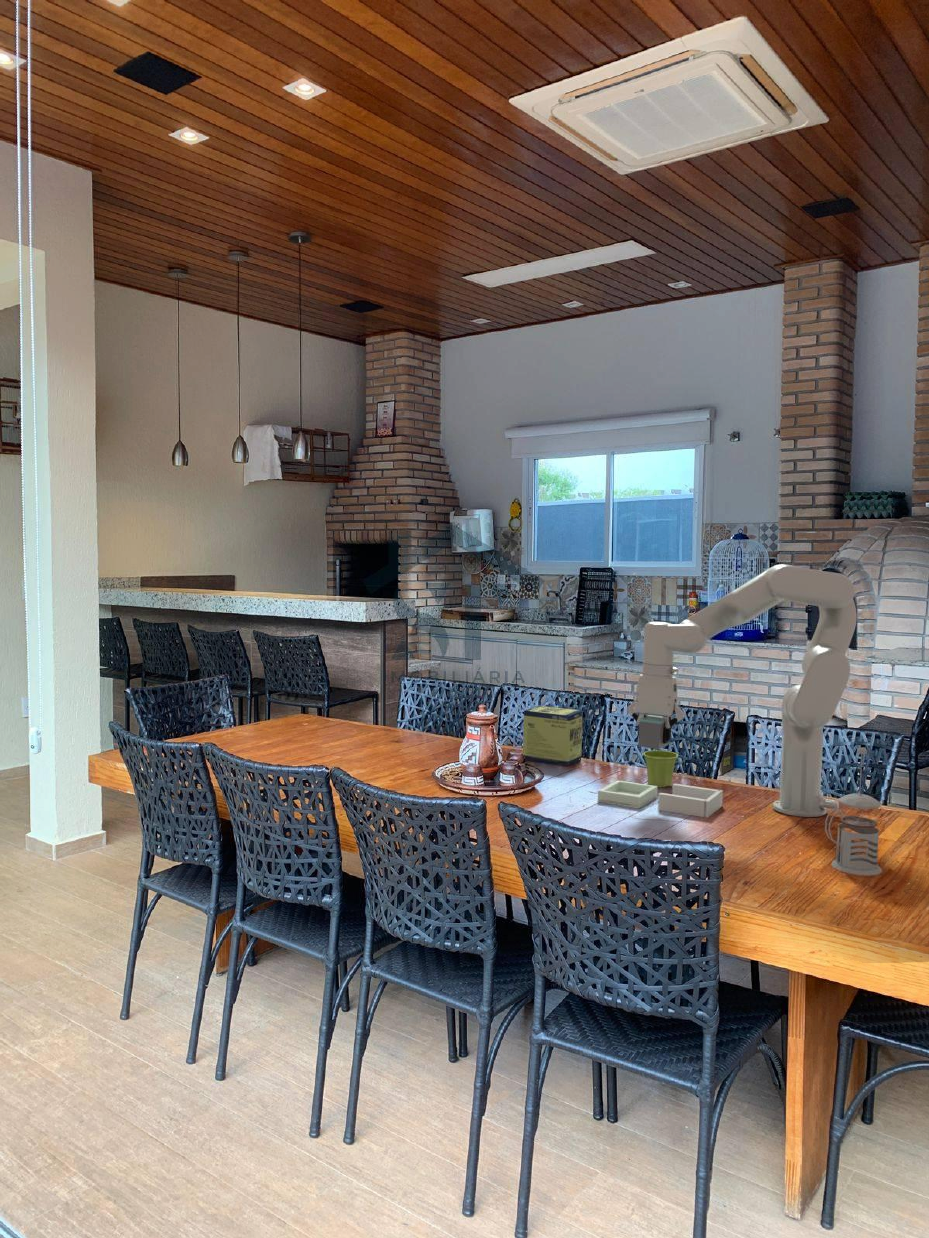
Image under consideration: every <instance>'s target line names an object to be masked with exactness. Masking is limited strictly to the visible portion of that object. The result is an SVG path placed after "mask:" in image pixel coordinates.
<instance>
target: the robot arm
mask: <svg viewBox="0 0 929 1238" xmlns="http://www.w3.org/2000/svg"><path fill="white" fill-rule="evenodd" d="M855 587H856V586H855V585H854V583H853V581H852V579H851V578H849V576H847V575H845V574H843V573H838V572H832V571H823V570H820V569H819V570H818V569H811V568H805V567H800V566H795V565H791V564H784V563H783V564H775V565H774V566H771V567H770V568H768V569H766V570H764V571H763V572H761V573H760V574H758V575H757V576H755V577H753V578H752V579H750V580H748V581H747V582H745V583H743V584H742V585H740V586H739V587H737V588H736V589H734V590H732V591H731V592H729V593H727V594H725V595H724V596H722V597H721V598H719V599H717V600H716V601H715V602H713V603H711V604H709V605H707V606H705V607H704V608H702V609H701V610H699V611H697V612H696V613H694V614H692V615H691V616H689V617H688V618H686V619H684V620H683V621H681V622H680V623H679V624H672V623H671V622H667V621H666V622H664V621H650V622H647V623H645V626H644V629H643V630H644V634H643V653H642V655H643V656H642V671H641V672H642V673H641V674H639V677H638V681H637V685H636V691H635V697H634V698H635V699H634V700H633V701H632V702H631V703H630V704H629V705H628V706H627V708H626V711H627V712H628V713H629V714H630V715H631V717H632V718H633V720H634V721H635V722H636V724H637V737H639V719H640V718H643V717H645V716H648V715H655V716H663V720H664V723H665V728H664V729H663V744H666V743H668V742H669V743H670V740H671V739H672V727H674V726H675V725H676V724H677V723H678V722H679V721H681V720H682V719H684V718H685V716H686V714H685V712H684V711H683V710H682V709H681V707H680V705H679V703H678V698H679V697H678V684H677V683H678V682H677V677H676V676H673V675H674V674H678V673H679V668H678V667H675V665H674V652H678V653H683V654H689V655H690V654H697V653H699V652H701V651H702V650H704V648H705V646H707V645H706V644H707V641H708V640H710V639H711V638H713V637H714V636H717V635H719V633H720V634H721V632H724V631H726V630H728V629H730V628H732V627H738V626H741V625H745V624H746V623H749V622H751V621H752V620H754V619H756V618H757V617H758V616H761V615H762V614H763V613H765V612H767V611H768V610H770V609H771V608H774V607H775V606H777V605H778V604H781V603H782V602H783V601H787V602H788V601H789V602H793V603H798V604H803V605H809V606H816V607H818V610H819V618H818V622H817V625H816V628H815V631H814V633H813V636H812V639H811V640H810V642H809V645H808V648H807V650H806V651H805V654H804V655H803V657H802V658H803V659H802V661H801V670H802V672H803V674H804V677H803V680H802V682H801V684H797V685H796V684H795V685H794V686H792V687H790V688H789V689H787V691H786V692H785V693H784V696H783V698H782V701H781V722H782V723H781V724H782V726H781V727H782V737H781V738H782V740H781V757H780V759H781V761H780V782H779V783H780V784H779V785H780V787H779V788H780V789H779V800H776V801H774V802H773V803H772V809H774V811H777V812H779V813H781V814H784V815H789V816H794V817H802V818H803V817H804V818H815V817H816V818H817V817H822V816H824V815H826V814H827V809H830V810H833V809H835V808H839V809H840V805H839V804H840V802H839V801H836V799H829V798H828V799H826V798H825V797H824V793H823V792H822V791H821V789H822V770H823V769H822V762H823V750H824V749H823V748H824V747H823V746H824V745H823V744H824V733H823V732H824V731H823V728H824V727H825V726H826V725H827V724H829V722H830V721H831V719H832V717H833V716H834V714H835V712H836V710H837V707H838V705H839V703H840V701H841V698H842V696H843V694H844V692H845V690H846V687H847V685H848V682H849V680H850V675H851V663H850V661H849V658H848V656H846V654H847V652H848V649H849V647H850V644H851V642H852V639H853V636H854V632H855V630H856V626H857V618H858V617H857V616H858V614H857V607H856V605H855V604H856V603H855V600H854V598H855V594H856V593H855V592H856V589H855ZM672 715H676V716H674V717H673V718H672ZM839 809H835V810H834V811H839Z"/></svg>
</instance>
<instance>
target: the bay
mask: <svg viewBox="0 0 929 1238" xmlns="http://www.w3.org/2000/svg"><path fill="white" fill-rule="evenodd" d="M723 792H724V791H723V790H722V789H715V788H707V787H700V786H695V785H688V784H687V785H686V784H680V783H673V784H672V794H671V793H665V792H660V793H658V802H657V803H658V804H657V810H658V811H663V812H671V813H677V814H682V815H689V816H694V817H695V816H696V817H699V818H709V817H711V816H712V815H713V814H715V813H716V812H717V811H718V810H719V809H721V807H723V795H724V794H723Z"/></svg>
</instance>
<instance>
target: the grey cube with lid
mask: <svg viewBox="0 0 929 1238" xmlns="http://www.w3.org/2000/svg"><path fill="white" fill-rule="evenodd" d="M664 728H665V723H664V720H663V716H655V715H647V716H645V717H643V718H640V719H639V736H638V742H637V743H638V744H637V746H638V747H641V748H648V749H654V750H655V749H656V750H661V749H662V748H664V747H667V746H668V745H669V744H670V741H669V742H668V743H666V744H663V729H664Z"/></svg>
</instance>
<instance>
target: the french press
mask: <svg viewBox="0 0 929 1238" xmlns="http://www.w3.org/2000/svg"><path fill="white" fill-rule="evenodd" d="M856 753H857V754H858V755H859V754H860V772H859V773H860V775H859V792H857V793H849V794H846V795H844V796H841V797H839V798H838V799H837V802H839V804H840V805H843V806H844V807H849V808H853V809H858V813H857V814H858V815H844V814H845V812H844V810H843V809H840V807H839V808H835V809H838V810H835V809H831V810H830V811H829V813H828V814H827V816H826V818H825V821H824V831H825V833H826V836H827V838H829V840H831V841H832V842H834V843H835V844H836V854H835V855H836V858H835V859H834V860H833V861H832V862H831V863H830V866H832V868H834V869H836V870H837V871H838V872H843V873H846V874H851V875H855V876H856V875H857V876H866V877H867V876H869V877H870V876H877V875H880V874H882V872H883V869H882V868H881V867H880V866H879V865H878V852H879V851H878V850H879V829H878V828H877V826H878V825H879V823H878V822H877V821H876V820H874V819H872V818H869V817H864V816H863V817H862V816H860V809H863V810H864V809H865V810H867V809H868V810H871V809H873V810H874V809H878V808H880V807H881V806H882V803H881V802H880V801H879V800H877V799H876V798H874V797H872V796H871V795H868V794H864V793H861V791H862V790H861V789H862V787H861V785H862V768H863V767H862V766H863V755H867V754H868V750H867V748H865V747H858V748H857V750H856ZM834 811H836V812H834ZM833 812H834V814H833V815H832V816H831V818H830V821H829V824H828V827H827V822H828V819H829V817H830V815H831V814H832V813H833ZM841 812H842V814H841ZM837 813H838V815H839V816H840V819H839V821H840V822H841V823H840V824H838V825H837V840H834V838H833V836H832V832H831V824H832V821H833V819H834V817H835V816H836V815H837ZM827 828H828V830H827ZM844 829H849V830H851V831H853V832H851V831H848V830H844ZM840 831H841V832H840ZM856 840H860V841H859V842H858V841H856ZM867 842H868V843H867ZM857 846H859V847H857ZM860 847H862V848H860ZM866 848H867V849H866ZM859 853H862V854H859Z"/></svg>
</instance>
